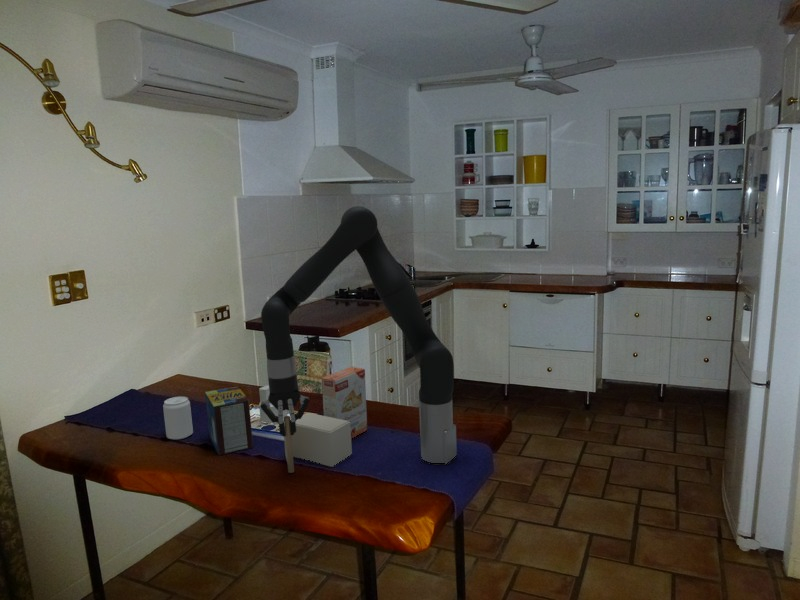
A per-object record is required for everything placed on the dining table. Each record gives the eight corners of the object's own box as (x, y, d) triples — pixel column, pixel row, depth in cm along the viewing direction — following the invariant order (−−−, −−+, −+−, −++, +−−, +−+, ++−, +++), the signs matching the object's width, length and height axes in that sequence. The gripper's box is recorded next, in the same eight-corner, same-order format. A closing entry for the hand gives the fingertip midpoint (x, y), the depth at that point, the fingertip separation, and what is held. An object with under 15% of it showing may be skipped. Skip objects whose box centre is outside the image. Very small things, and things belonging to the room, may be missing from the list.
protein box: (242, 431, 194) (238, 385, 192) (253, 448, 181) (249, 399, 178) (209, 438, 190) (204, 391, 187) (218, 456, 176) (213, 405, 173)
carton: (352, 454, 173) (350, 420, 171) (332, 467, 166) (330, 431, 164) (309, 444, 182) (307, 412, 180) (289, 455, 174) (286, 422, 172)
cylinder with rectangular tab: (274, 426, 197) (271, 391, 195) (254, 421, 202) (251, 387, 200) (293, 416, 205) (290, 383, 203) (273, 412, 210) (270, 380, 208)
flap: (294, 472, 163) (290, 417, 160) (288, 473, 162) (284, 418, 160) (289, 455, 173) (285, 404, 170) (284, 456, 173) (280, 405, 170)
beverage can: (162, 436, 192) (157, 401, 190) (185, 428, 198) (181, 394, 196) (174, 443, 187) (169, 406, 185) (198, 434, 193) (194, 399, 191)
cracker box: (339, 447, 178) (334, 380, 175) (324, 443, 182) (320, 377, 178) (369, 431, 189) (365, 368, 186) (354, 427, 193) (351, 365, 189)
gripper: (255, 380, 153) (262, 443, 156) (309, 373, 156) (314, 436, 159) (256, 372, 161) (262, 433, 164) (307, 366, 163) (313, 426, 166)
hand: (288, 434), depth 161 cm, fingers closed on flap, 2 cm apart
